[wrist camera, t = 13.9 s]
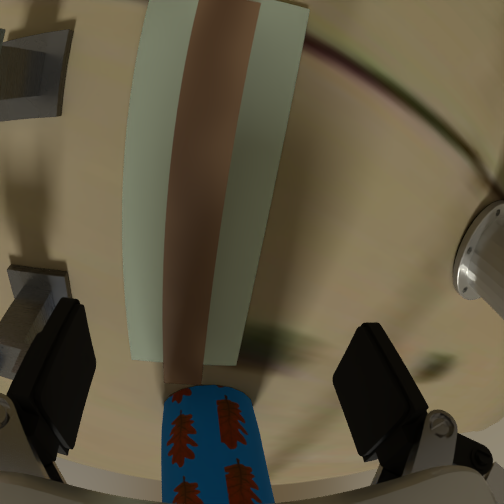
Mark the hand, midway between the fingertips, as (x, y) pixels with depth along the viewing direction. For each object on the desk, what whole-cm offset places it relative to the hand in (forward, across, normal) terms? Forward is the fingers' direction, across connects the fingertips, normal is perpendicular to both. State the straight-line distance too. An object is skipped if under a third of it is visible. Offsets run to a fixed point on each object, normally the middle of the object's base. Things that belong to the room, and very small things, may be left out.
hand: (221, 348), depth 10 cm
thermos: (+13, -2, +24) cm, 27 cm away
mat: (+12, +2, 0) cm, 13 cm away
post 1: (+12, +14, -9) cm, 21 cm away
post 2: (+12, +14, +9) cm, 21 cm away
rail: (+12, +2, 0) cm, 12 cm away
